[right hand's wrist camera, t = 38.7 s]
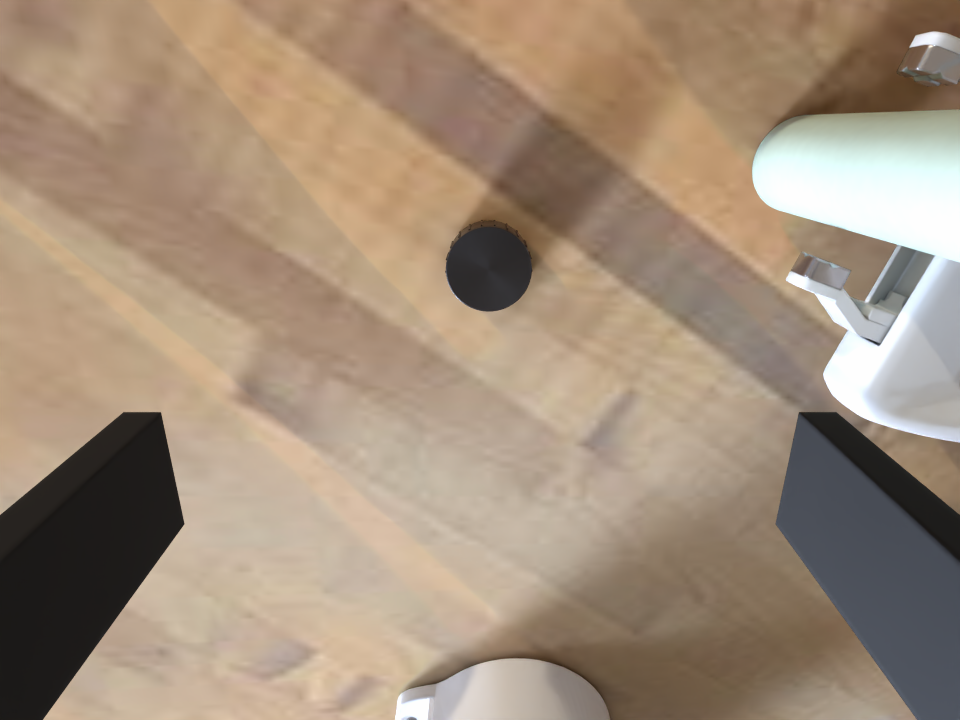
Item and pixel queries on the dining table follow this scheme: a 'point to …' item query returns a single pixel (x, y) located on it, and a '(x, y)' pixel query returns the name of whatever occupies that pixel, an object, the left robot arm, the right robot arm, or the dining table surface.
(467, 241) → the cap
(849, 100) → the dining table surface
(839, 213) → the bottle
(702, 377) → the dining table surface
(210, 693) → the dining table surface
